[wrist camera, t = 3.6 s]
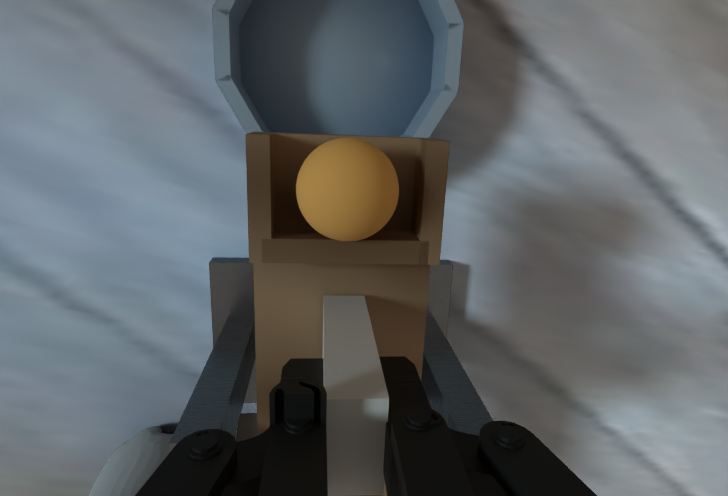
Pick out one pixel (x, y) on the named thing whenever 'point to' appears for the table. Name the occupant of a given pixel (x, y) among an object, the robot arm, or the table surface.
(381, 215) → the ball
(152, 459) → the bottle
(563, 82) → the table surface
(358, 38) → the bowl
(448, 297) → the fulcrum
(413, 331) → the lever
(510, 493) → the robot arm
